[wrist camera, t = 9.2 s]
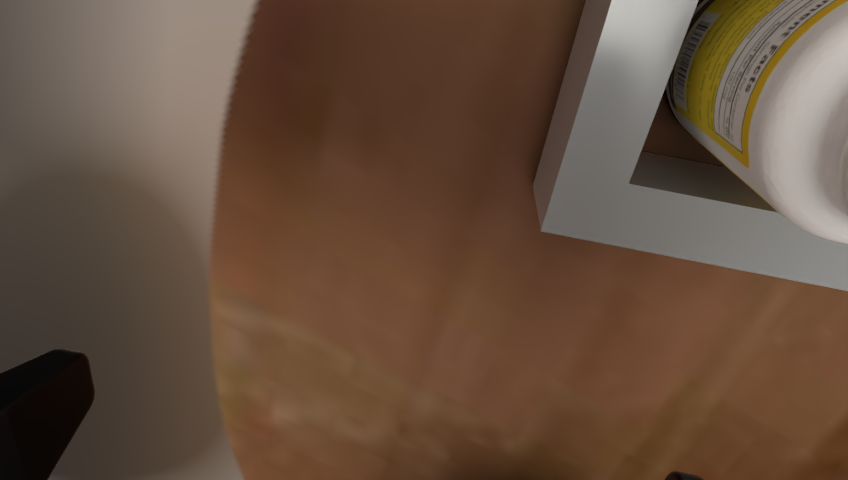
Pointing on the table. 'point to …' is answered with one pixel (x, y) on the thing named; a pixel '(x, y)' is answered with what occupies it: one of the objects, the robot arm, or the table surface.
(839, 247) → the well
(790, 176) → the supplement bottle
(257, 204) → the table surface
